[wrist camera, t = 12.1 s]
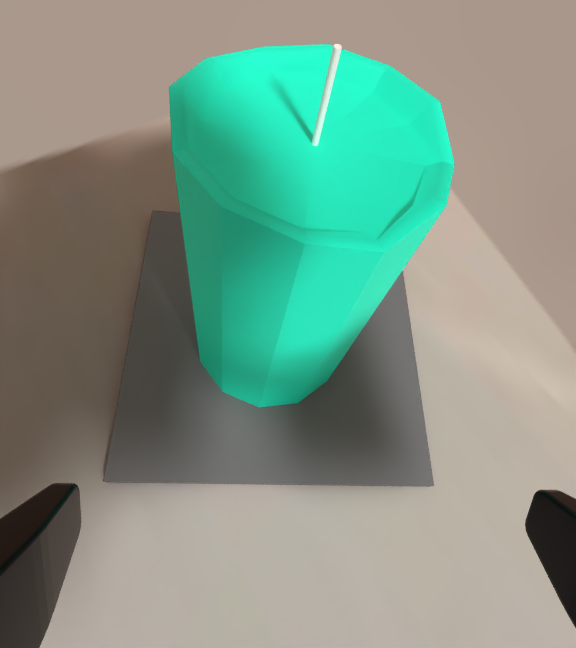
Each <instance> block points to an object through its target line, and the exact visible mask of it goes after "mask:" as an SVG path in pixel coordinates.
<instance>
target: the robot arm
mask: <svg viewBox="0 0 576 648" xmlns="http://www.w3.org/2000/svg"><path fill="white" fill-rule="evenodd" d="M80 527H81V510H80V494H79V488H78V486H77V485H76V484H74V483H54V484H52V485H50V486H48V487H47V488H45V489H44V490H42V491H41V492H39V493H38V494H36V495H35V496H33V497H32V498H30V499H29V500H27V501H26V502H24V503H23V504H21V505H20V506H18V507H17V508H15V509H14V510H12V511H11V512H9V513H8V514H6V515H5V516H4V517H2V518H1V519H0V648H39V647H40V645H41V643H42V641H43V638H44V636H45V633H46V631H47V628H48V626H49V623H50V621H51V618H52V615H53V612H54V609H55V606H56V603H57V600H58V597H59V594H60V591H61V588H62V585H63V582H64V579H65V576H66V573H67V570H68V566H69V563H70V560H71V557H72V554H73V551H74V548H75V545H76V542H77V539H78V536H79V532H80ZM525 527H526V532H527V535H528V537H529V539H530V541H531V543H532V545H533V547H534V549H535V551H536V553H537V555H538V557H539V559H540V561H541V563H542V565H543V567H544V569H545V571H546V573H547V575H548V577H549V579H550V581H551V583H552V585H553V587H554V589H555V591H556V593H557V595H558V597H559V599H560V601H561V603H562V605H563V606H564V608H565V610H566V612H567V614H568V616H569V617H570V619H571V621H572V623H573V624H574V626H575V628H576V499H575V498H573V497H571V496H569V495H567V494H565V493H563V492H561V491H558V490H539V491H537V492H536V493H535V494H534V497H533V500H532V503H531V506H530V509H529V512H528V515H527V518H526V522H525Z"/></svg>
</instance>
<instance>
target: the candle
mask: <svg viewBox="0 0 576 648" xmlns="http://www.w3.org/2000/svg"><path fill="white" fill-rule="evenodd" d="M169 98H170V118H171V138H172V154H173V162H174V169H175V177H176V184H177V192H178V199H179V207H180V214H181V222H182V229H183V237H184V244H185V252H186V259H187V267H188V274H189V282H190V289H191V297H192V304H193V312H194V319H195V327H196V334H197V342H198V349H199V357H200V362H201V363H202V365H203V366H204V367H205V369H206V370H207V371H208V373H209V374H210V375H211V377H212V378H213V380H214V381H215V382H216V384H217V385H218V386H219V388H220V389H221V390H222V392H224V393H227V394H229V395H231V396H234V397H236V398H238V399H241V400H243V401H245V402H247V403H250V404H252V405H254V406H257V407H267V406H276V405H286V404H295V403H299V402H300V401H301V400H303V399H304V398H305V397H307V396H308V395H309V394H311V393H312V392H313V391H315V390H316V389H317V388H319V387H320V386H321V385H323V384H324V383H325V382H327V380H328V379H329V377H330V376H331V375H332V373H333V372H334V370H335V369H336V367H337V366H338V364H339V363H340V361H341V360H342V358H343V357H344V355H345V354H346V352H347V351H348V350H349V348H350V347H351V345H352V344H353V342H354V341H355V339H356V338H357V336H358V335H359V333H360V332H361V330H362V329H363V327H364V326H365V325H366V323H367V322H368V320H369V319H370V317H371V316H372V314H373V313H374V311H375V310H376V308H377V307H378V305H379V304H380V302H381V301H382V300H383V298H384V297H385V295H386V294H387V292H388V291H389V289H390V288H391V286H392V285H393V283H394V282H395V280H396V279H397V277H398V276H399V275H400V273H401V272H402V270H403V269H404V267H405V266H406V264H407V263H408V261H409V260H410V258H411V257H412V255H413V254H414V252H415V251H416V250H417V248H418V247H419V245H420V244H421V242H422V241H423V239H424V238H425V236H426V235H427V233H428V232H429V230H430V229H431V227H432V226H433V225H434V223H435V222H436V220H437V219H438V217H439V216H440V214H441V213H442V211H443V210H444V208H445V207H446V205H447V200H448V195H449V190H450V185H451V180H452V175H453V170H454V165H455V164H454V159H453V155H452V151H451V146H450V142H449V138H448V134H447V129H446V125H445V121H444V117H443V112H442V109H441V104H440V101H439V100H437V99H436V98H434V97H433V96H432V95H430V94H428V93H427V92H426V91H425V90H423V89H422V88H420V87H419V86H417V85H416V84H415V83H413V82H412V81H411V80H409V79H408V78H406V77H405V76H404V75H402V74H401V73H400V72H398V71H397V70H395V69H394V68H392V67H391V66H389V65H386V64H383V63H380V62H378V61H375V60H372V59H369V58H366V57H363V56H361V55H358V54H355V53H352V52H349V51H346V50H343V49H342V46H341V45H339V44H334V46H332V45H329V44H321V45H296V46H268V47H259V48H254V49H249V50H244V51H240V52H234V53H230V54H225V55H220V56H215V57H210V58H206V59H204V60H203V61H202V62H201V63H199V64H198V65H197V66H195V67H194V68H193V69H191V70H190V71H189V72H188V73H186V74H185V75H184V76H182V77H181V78H180V79H178V80H177V81H176V82H175V83H173V84H172V85H171V86H169Z"/></svg>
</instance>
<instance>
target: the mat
mask: <svg viewBox="0 0 576 648" xmlns="http://www.w3.org/2000/svg"><path fill="white" fill-rule="evenodd" d="M103 481H104V482H118V483H195V484H273V485H350V486H427V487H429V486H434V483H433V476H432V469H431V462H430V455H429V448H428V442H427V435H426V428H425V421H424V414H423V407H422V400H421V393H420V386H419V380H418V373H417V366H416V359H415V352H414V345H413V338H412V331H411V324H410V317H409V311H408V304H407V297H406V290H405V283H404V276H403V270H402V272H401V273H400V275H399V276H398V277H397V279H396V280H395V282H394V283H393V285H392V286H391V288H390V289H389V291H388V292H387V294H386V295H385V297H384V298H383V300H382V301H381V302H380V304H379V305H378V307H377V308H376V310H375V311H374V313H373V314H372V316H371V317H370V319H369V320H368V322H367V323H366V325H365V326H364V327H363V329H362V330H361V332H360V333H359V335H358V336H357V338H356V339H355V341H354V342H353V344H352V345H351V347H350V348H349V350H348V351H347V352H346V354H345V355H344V357H343V358H342V360H341V361H340V363H339V364H338V366H337V367H336V369H335V370H334V372H333V373H332V375H331V376H330V377H329V379H328V380H327V382H325V383H324V384H323V385H321V386H320V387H319V388H317V389H316V390H315V391H313V392H312V393H311V394H309V395H308V396H307V397H305V398H304V399H303V400H301V401H300V402H299V403H295V404H286V405H276V406H267V407H257V406H254V405H252V404H250V403H247V402H245V401H243V400H241V399H238V398H236V397H234V396H231V395H229V394H227V393H224V392H222V390H221V389H220V388H219V386H218V385H217V384H216V382H215V381H214V380H213V378H212V377H211V375H210V374H209V373H208V371H207V370H206V369H205V367H204V366H203V365H202V363H201V362H200V357H199V349H198V342H197V334H196V327H195V319H194V312H193V304H192V297H191V289H190V282H189V274H188V267H187V259H186V252H185V244H184V237H183V229H182V222H181V214H180V213H175V212H164V211H152V216H151V222H150V227H149V233H148V238H147V244H146V249H145V255H144V260H143V266H142V271H141V277H140V282H139V288H138V293H137V299H136V304H135V310H134V315H133V321H132V326H131V332H130V337H129V343H128V348H127V354H126V359H125V365H124V370H123V376H122V381H121V387H120V392H119V398H118V403H117V409H116V414H115V420H114V425H113V431H112V436H111V442H110V447H109V453H108V458H107V464H106V469H105V475H104V480H103Z"/></svg>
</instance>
